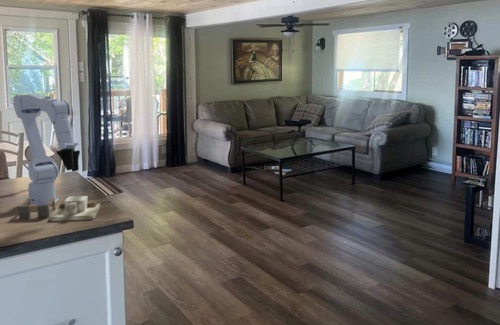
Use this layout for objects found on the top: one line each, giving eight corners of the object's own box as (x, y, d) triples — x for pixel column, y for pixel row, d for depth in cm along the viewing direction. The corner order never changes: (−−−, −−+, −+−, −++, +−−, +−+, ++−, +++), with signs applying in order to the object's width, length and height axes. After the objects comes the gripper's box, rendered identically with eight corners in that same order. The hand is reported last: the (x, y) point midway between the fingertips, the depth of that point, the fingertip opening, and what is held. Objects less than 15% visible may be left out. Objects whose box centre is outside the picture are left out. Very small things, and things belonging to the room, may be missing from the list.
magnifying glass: (28, 189, 211) (24, 144, 207) (27, 188, 213) (23, 144, 209) (48, 186, 216) (45, 142, 212) (48, 185, 218) (44, 142, 214)
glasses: (19, 218, 172) (18, 206, 171) (28, 209, 182) (27, 198, 181) (48, 217, 173) (47, 205, 172) (55, 208, 184) (54, 197, 183)
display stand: (50, 221, 170) (48, 206, 168) (60, 208, 184) (59, 194, 183) (93, 219, 172) (92, 204, 171) (100, 206, 186) (99, 193, 185)
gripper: (70, 128, 165) (79, 166, 165) (79, 133, 180) (88, 168, 179) (49, 133, 165) (58, 171, 164) (60, 138, 179) (69, 173, 178)
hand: (72, 170), depth 172 cm, fingers open, 7 cm apart
